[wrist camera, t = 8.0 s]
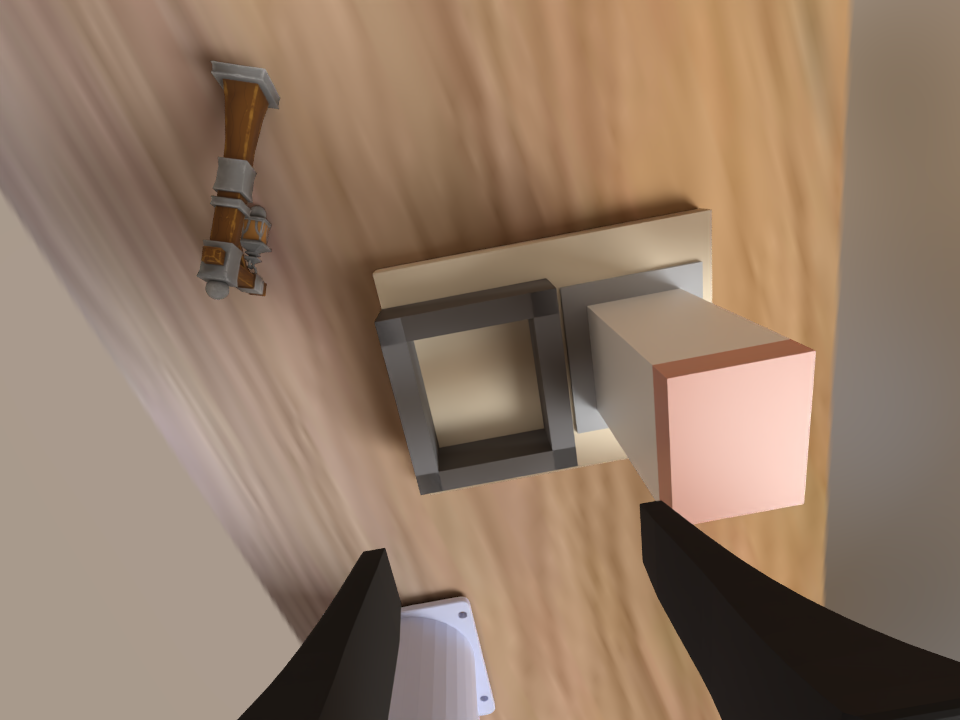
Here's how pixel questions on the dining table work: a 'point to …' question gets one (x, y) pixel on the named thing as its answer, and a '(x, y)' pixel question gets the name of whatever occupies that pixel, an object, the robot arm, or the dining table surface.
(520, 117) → the dining table surface
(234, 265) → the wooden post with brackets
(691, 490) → the plug
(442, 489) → the board
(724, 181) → the dining table surface
